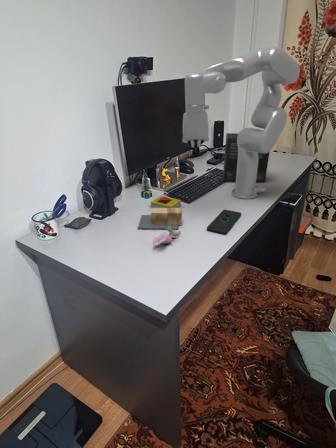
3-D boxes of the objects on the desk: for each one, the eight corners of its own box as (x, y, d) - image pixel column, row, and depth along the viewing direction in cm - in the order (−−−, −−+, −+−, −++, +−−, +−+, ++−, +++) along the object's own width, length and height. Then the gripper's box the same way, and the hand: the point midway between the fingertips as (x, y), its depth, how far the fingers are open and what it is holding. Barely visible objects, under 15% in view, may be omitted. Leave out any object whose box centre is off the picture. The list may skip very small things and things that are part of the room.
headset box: (262, 176, 177) (268, 129, 165) (266, 183, 166) (272, 134, 154) (222, 175, 179) (225, 129, 167) (223, 182, 168) (227, 134, 157)
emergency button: (158, 192, 146) (185, 198, 139) (158, 200, 148) (185, 207, 141) (146, 199, 139) (175, 205, 132) (147, 207, 141) (175, 214, 134)
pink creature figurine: (170, 235, 120) (147, 246, 108) (171, 220, 118) (148, 230, 106) (184, 239, 117) (161, 251, 105) (185, 224, 115) (163, 235, 103)
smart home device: (242, 212, 131) (226, 232, 116) (241, 216, 132) (225, 236, 116) (223, 208, 135) (205, 228, 119) (223, 212, 135) (205, 231, 120)
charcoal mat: (179, 216, 131) (179, 215, 131) (178, 230, 121) (178, 228, 120) (141, 216, 132) (141, 214, 132) (137, 229, 122) (137, 228, 121)
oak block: (181, 208, 126) (152, 207, 126) (181, 213, 121) (151, 212, 122) (181, 219, 128) (152, 218, 129) (181, 224, 123) (151, 224, 124)
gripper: (213, 106, 122) (213, 152, 130) (176, 108, 123) (177, 154, 131) (215, 109, 115) (214, 158, 124) (175, 111, 116) (177, 159, 125)
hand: (195, 156), depth 128 cm, fingers closed
